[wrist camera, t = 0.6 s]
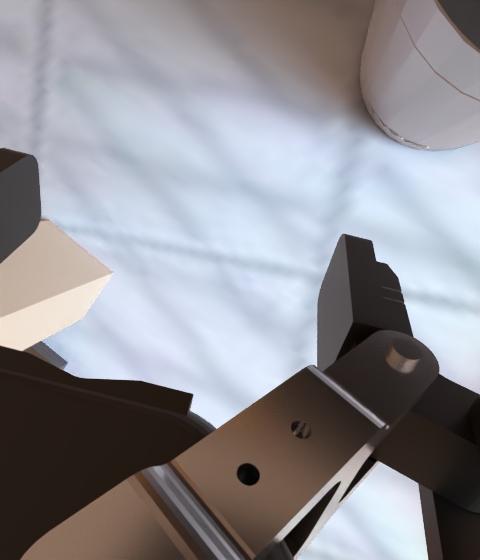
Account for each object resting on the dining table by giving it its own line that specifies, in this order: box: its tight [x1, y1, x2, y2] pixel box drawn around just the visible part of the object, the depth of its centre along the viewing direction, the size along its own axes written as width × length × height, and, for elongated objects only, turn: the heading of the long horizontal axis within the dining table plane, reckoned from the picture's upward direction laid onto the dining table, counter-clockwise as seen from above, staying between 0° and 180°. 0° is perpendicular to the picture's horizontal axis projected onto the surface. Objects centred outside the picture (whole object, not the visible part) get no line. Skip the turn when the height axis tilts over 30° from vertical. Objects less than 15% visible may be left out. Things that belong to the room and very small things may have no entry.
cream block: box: [0, 220, 114, 351], centre depth 27 cm, size 4×6×12 cm
